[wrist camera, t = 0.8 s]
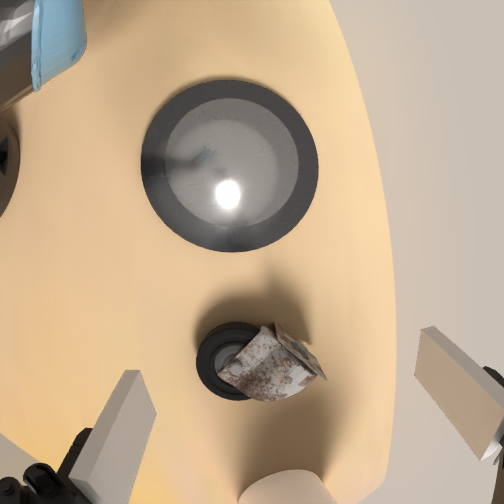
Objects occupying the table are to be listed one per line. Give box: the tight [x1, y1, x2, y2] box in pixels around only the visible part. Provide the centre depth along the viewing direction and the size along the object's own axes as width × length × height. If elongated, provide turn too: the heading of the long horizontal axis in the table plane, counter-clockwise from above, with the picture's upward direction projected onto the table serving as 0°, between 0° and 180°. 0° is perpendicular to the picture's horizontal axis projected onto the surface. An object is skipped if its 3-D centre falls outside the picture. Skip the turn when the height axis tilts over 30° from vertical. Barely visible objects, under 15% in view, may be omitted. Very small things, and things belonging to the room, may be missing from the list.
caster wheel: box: [196, 322, 327, 401], centre depth 30 cm, size 7×11×10 cm
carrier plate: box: [141, 80, 319, 252], centre depth 31 cm, size 19×19×1 cm
